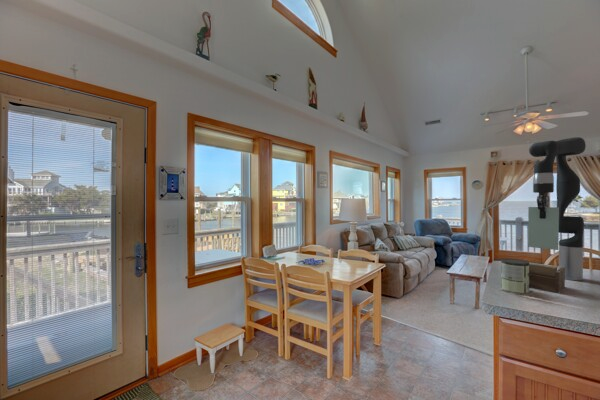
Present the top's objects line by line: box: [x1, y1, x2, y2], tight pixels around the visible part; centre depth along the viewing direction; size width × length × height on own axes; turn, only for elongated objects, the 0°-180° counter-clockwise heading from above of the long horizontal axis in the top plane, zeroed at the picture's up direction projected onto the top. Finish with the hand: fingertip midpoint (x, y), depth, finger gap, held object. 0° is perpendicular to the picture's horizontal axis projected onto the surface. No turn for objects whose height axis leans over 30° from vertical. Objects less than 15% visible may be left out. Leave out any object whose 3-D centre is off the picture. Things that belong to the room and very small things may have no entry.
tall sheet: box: [527, 206, 560, 251], centre depth 134 cm, size 1×11×20 cm, turn 39°
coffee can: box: [500, 258, 530, 296], centre depth 127 cm, size 10×10×14 cm
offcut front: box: [529, 262, 556, 276], centre depth 131 cm, size 1×11×10 cm, turn 38°
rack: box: [529, 267, 566, 294], centre depth 132 cm, size 14×15×10 cm
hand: (543, 218), depth 134 cm, fingers closed on tall sheet, 1 cm apart
